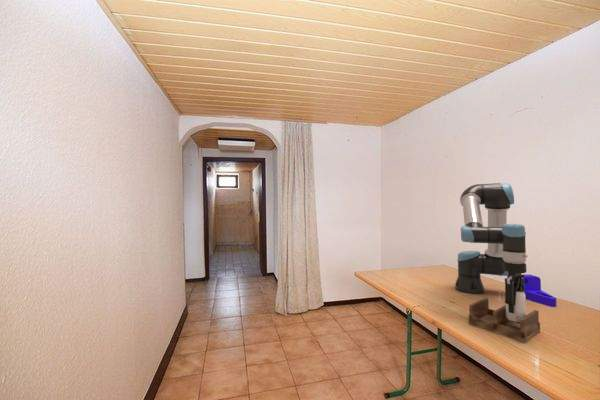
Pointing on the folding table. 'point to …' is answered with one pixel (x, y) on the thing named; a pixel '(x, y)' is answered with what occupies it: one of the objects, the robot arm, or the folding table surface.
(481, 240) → the robot arm
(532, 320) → the rack
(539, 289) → the bracket
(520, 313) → the can
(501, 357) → the folding table surface
